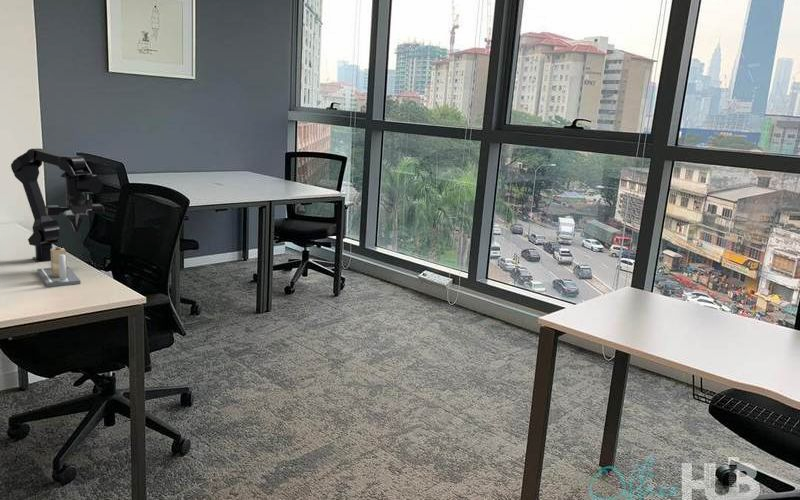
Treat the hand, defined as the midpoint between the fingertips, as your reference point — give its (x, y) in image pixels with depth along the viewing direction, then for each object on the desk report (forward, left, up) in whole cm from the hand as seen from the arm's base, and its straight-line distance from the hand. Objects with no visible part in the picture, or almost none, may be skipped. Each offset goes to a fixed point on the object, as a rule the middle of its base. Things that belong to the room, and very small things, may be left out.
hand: (76, 232), depth 225 cm
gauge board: (+12, -11, -13) cm, 21 cm away
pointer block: (+14, -11, -12) cm, 21 cm away
